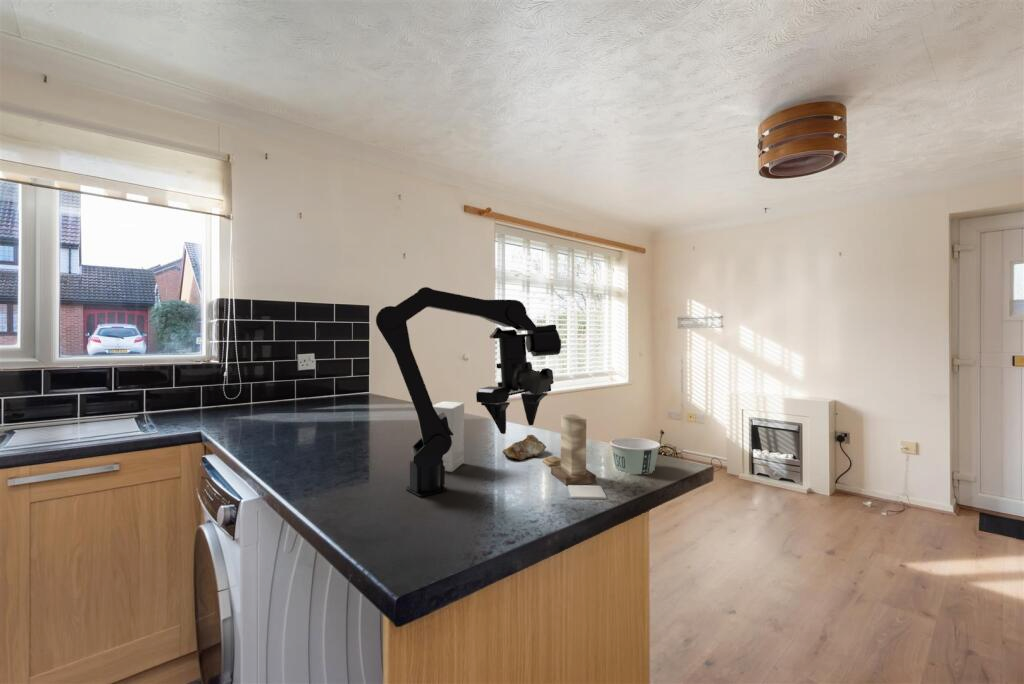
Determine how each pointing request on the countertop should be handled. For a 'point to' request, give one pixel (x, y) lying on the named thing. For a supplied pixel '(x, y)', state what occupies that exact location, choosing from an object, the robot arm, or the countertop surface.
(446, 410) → the skincare box
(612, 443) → the food container
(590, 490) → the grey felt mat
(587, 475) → the walnut rack
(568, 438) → the tan wooden block
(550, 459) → the oak offcuts
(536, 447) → the decorative stone
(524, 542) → the countertop surface
